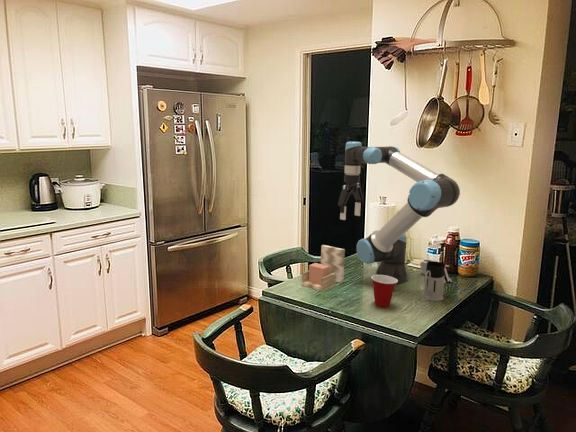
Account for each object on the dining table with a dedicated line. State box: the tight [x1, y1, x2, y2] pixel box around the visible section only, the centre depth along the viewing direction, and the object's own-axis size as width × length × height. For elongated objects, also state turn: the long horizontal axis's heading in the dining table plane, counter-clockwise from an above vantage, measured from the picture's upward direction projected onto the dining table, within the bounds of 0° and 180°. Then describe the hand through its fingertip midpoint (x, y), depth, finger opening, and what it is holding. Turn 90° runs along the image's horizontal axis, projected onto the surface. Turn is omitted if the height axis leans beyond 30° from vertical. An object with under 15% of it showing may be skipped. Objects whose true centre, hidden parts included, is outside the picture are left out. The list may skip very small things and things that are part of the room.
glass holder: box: [422, 260, 446, 301], centre depth 200 cm, size 9×14×15 cm, turn 140°
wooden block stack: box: [301, 244, 346, 292], centre depth 216 cm, size 12×17×16 cm
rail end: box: [308, 262, 330, 285], centre depth 214 cm, size 8×5×8 cm, turn 51°
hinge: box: [419, 258, 452, 284], centre depth 227 cm, size 17×5×10 cm, turn 23°
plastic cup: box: [370, 274, 398, 309], centre depth 191 cm, size 11×11×12 cm
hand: (350, 217), depth 227 cm, fingers open, 13 cm apart
